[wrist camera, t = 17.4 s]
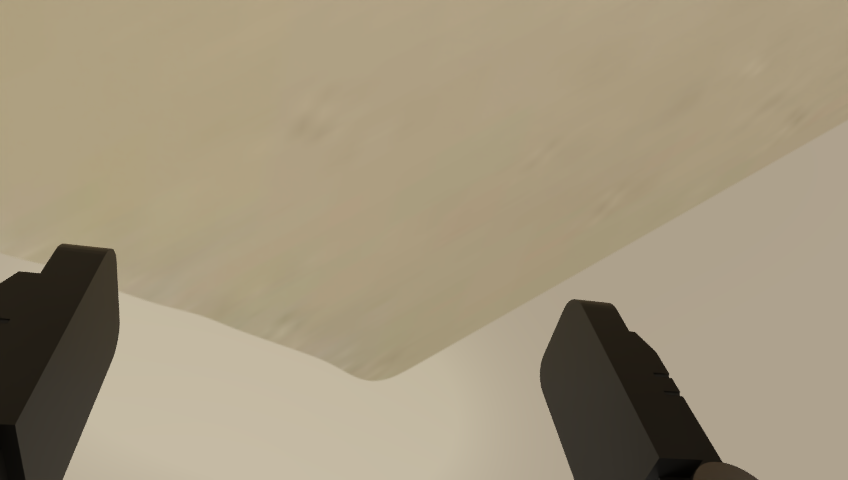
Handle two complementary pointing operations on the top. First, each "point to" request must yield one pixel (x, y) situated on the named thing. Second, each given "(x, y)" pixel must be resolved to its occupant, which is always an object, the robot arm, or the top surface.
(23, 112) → the top surface
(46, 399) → the robot arm
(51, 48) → the top surface
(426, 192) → the top surface
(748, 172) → the top surface
